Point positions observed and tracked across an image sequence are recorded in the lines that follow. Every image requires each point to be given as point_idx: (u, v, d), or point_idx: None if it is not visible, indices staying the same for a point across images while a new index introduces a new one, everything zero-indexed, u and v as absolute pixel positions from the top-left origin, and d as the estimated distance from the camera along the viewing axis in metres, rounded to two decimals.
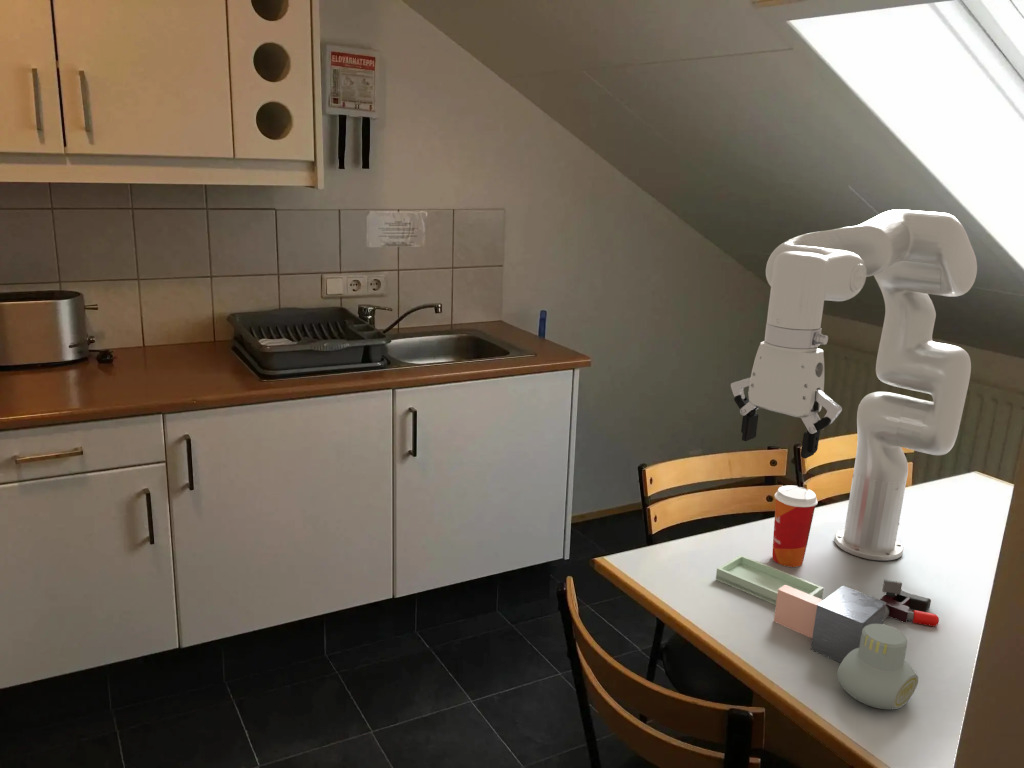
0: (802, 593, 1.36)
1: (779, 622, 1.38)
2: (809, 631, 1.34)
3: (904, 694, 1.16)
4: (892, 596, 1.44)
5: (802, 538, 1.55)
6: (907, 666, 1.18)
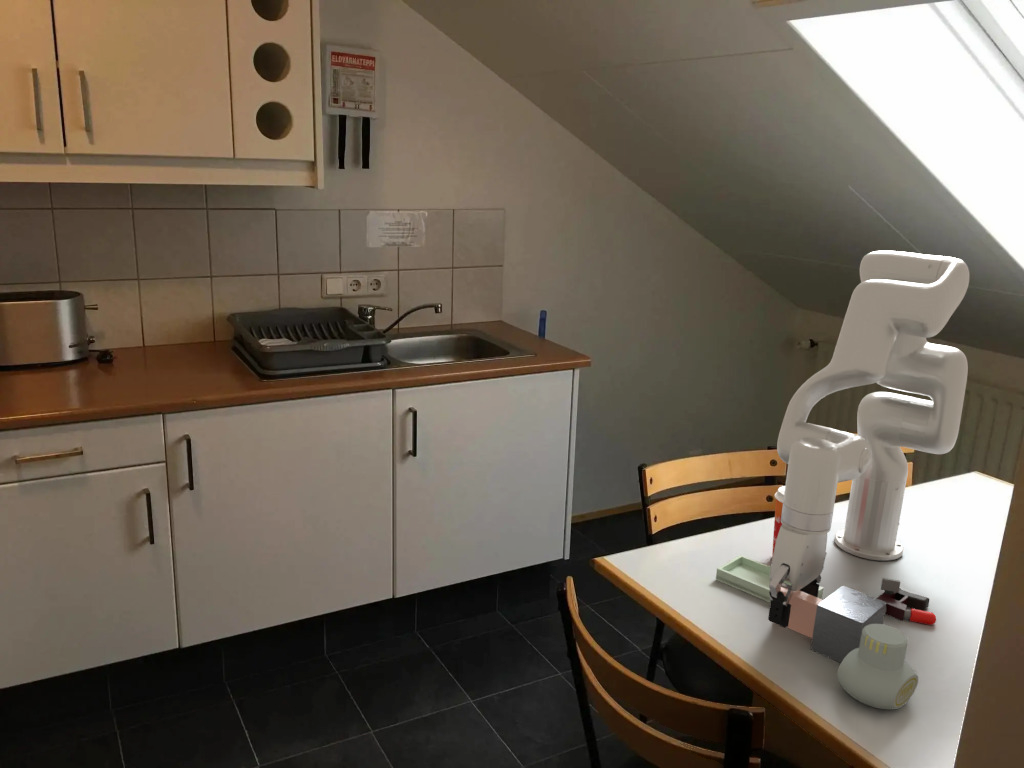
0: (802, 593, 1.36)
1: None
2: (809, 631, 1.34)
3: (904, 694, 1.16)
4: (890, 594, 1.44)
5: None
6: (907, 666, 1.18)
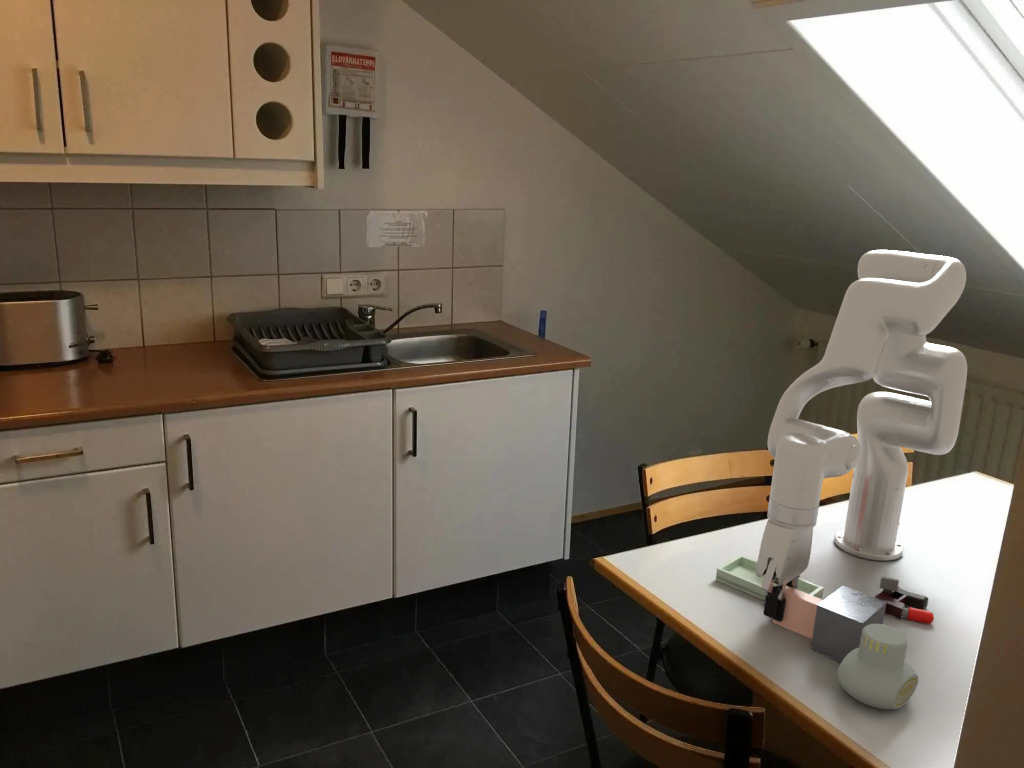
0: (802, 593, 1.36)
1: (778, 622, 1.37)
2: (809, 631, 1.34)
3: (904, 694, 1.16)
4: (889, 593, 1.45)
5: None
6: (907, 666, 1.18)
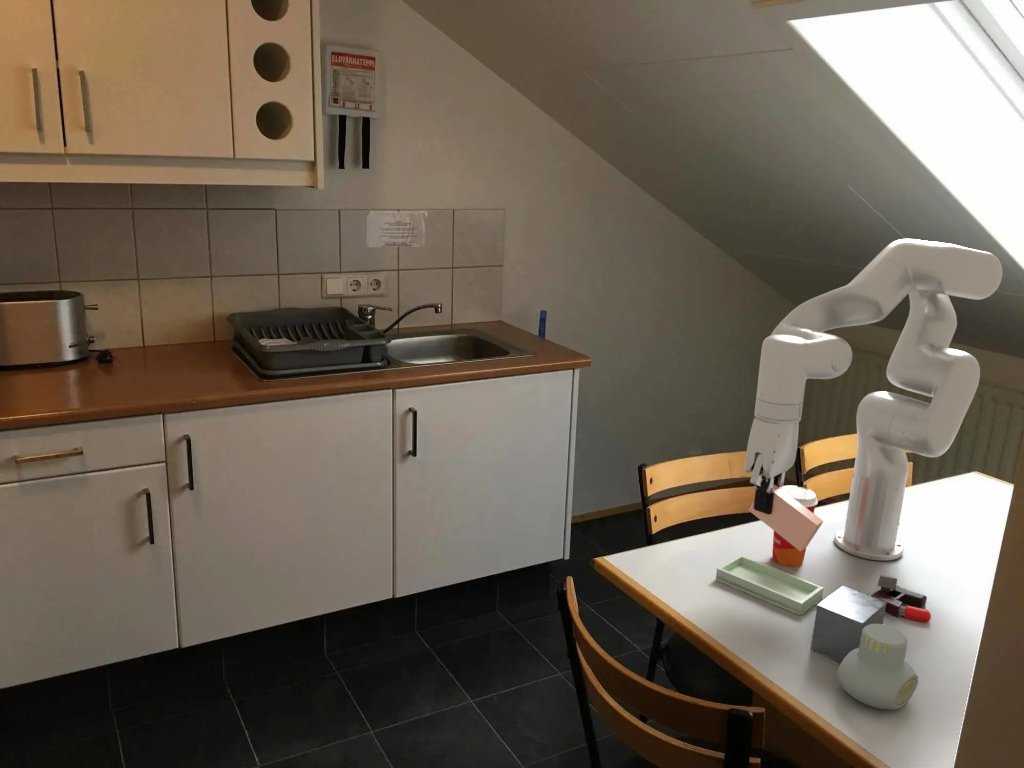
0: (784, 493, 1.44)
1: (753, 512, 1.47)
2: (779, 528, 1.44)
3: (904, 694, 1.16)
4: (887, 591, 1.45)
5: None
6: (907, 666, 1.18)
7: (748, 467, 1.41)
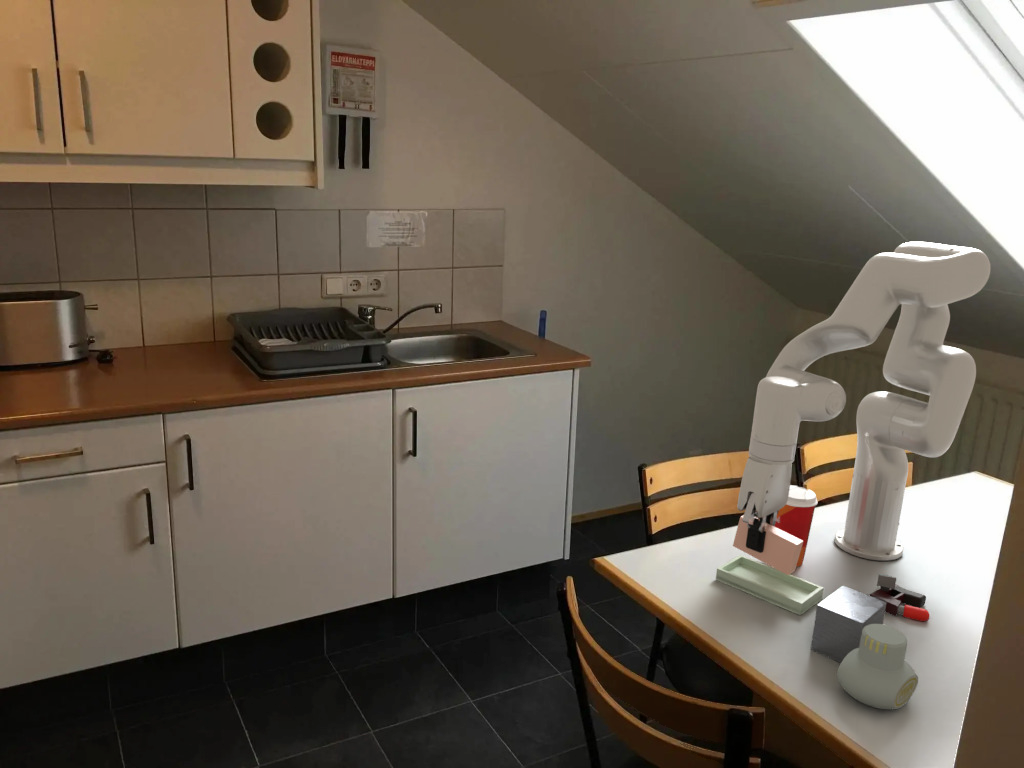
0: None
1: (738, 546, 1.50)
2: (764, 556, 1.46)
3: (904, 694, 1.16)
4: (886, 590, 1.46)
5: (802, 538, 1.55)
6: (907, 666, 1.18)
7: (741, 506, 1.44)
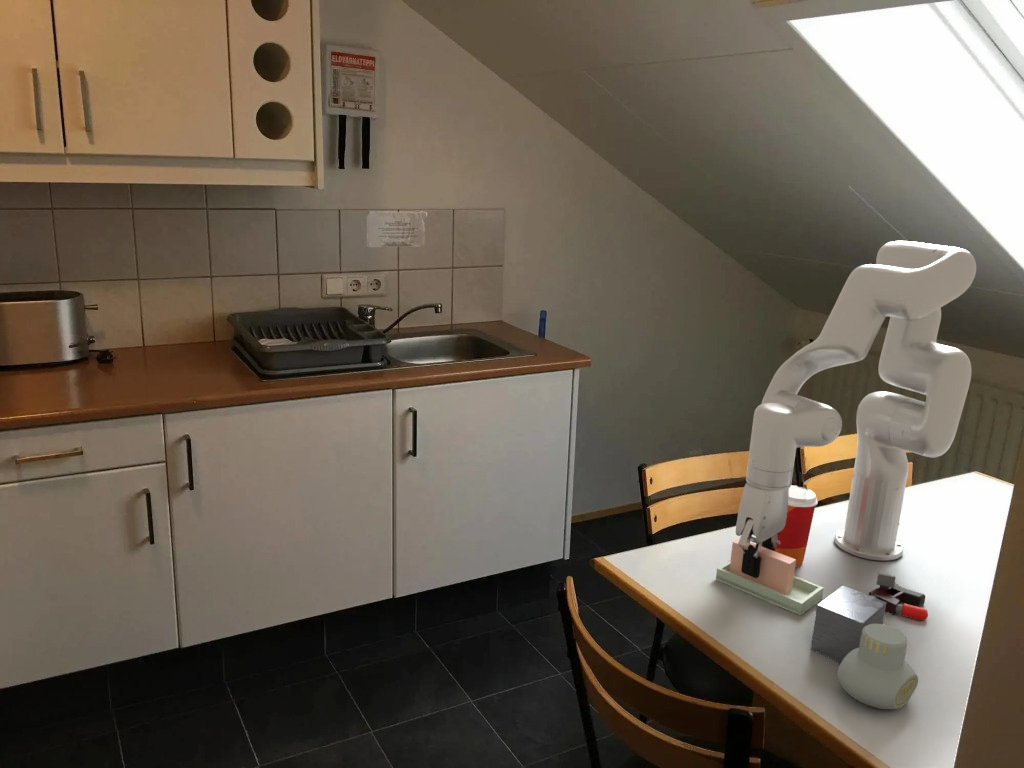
0: (754, 545, 1.50)
1: (734, 572, 1.52)
2: (760, 579, 1.48)
3: (904, 694, 1.16)
4: (885, 589, 1.46)
5: (802, 538, 1.55)
6: (907, 666, 1.18)
7: (739, 531, 1.45)
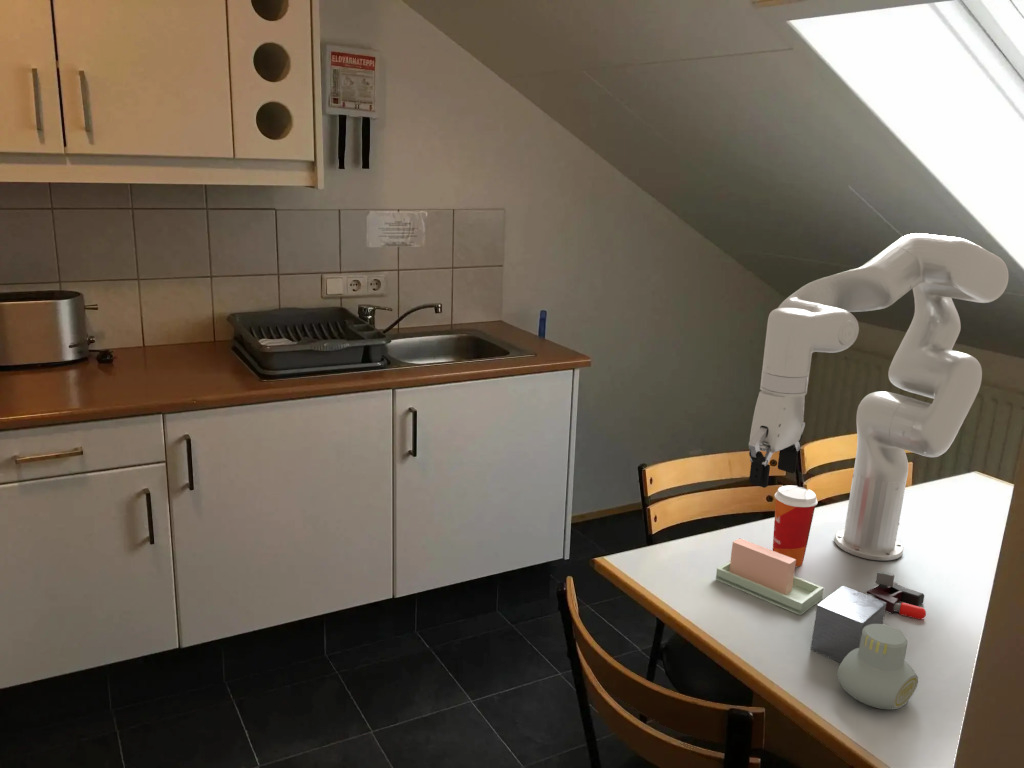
0: (754, 545, 1.50)
1: (734, 572, 1.52)
2: (760, 579, 1.48)
3: (904, 694, 1.16)
4: (884, 588, 1.46)
5: (802, 538, 1.55)
6: (907, 666, 1.18)
7: None
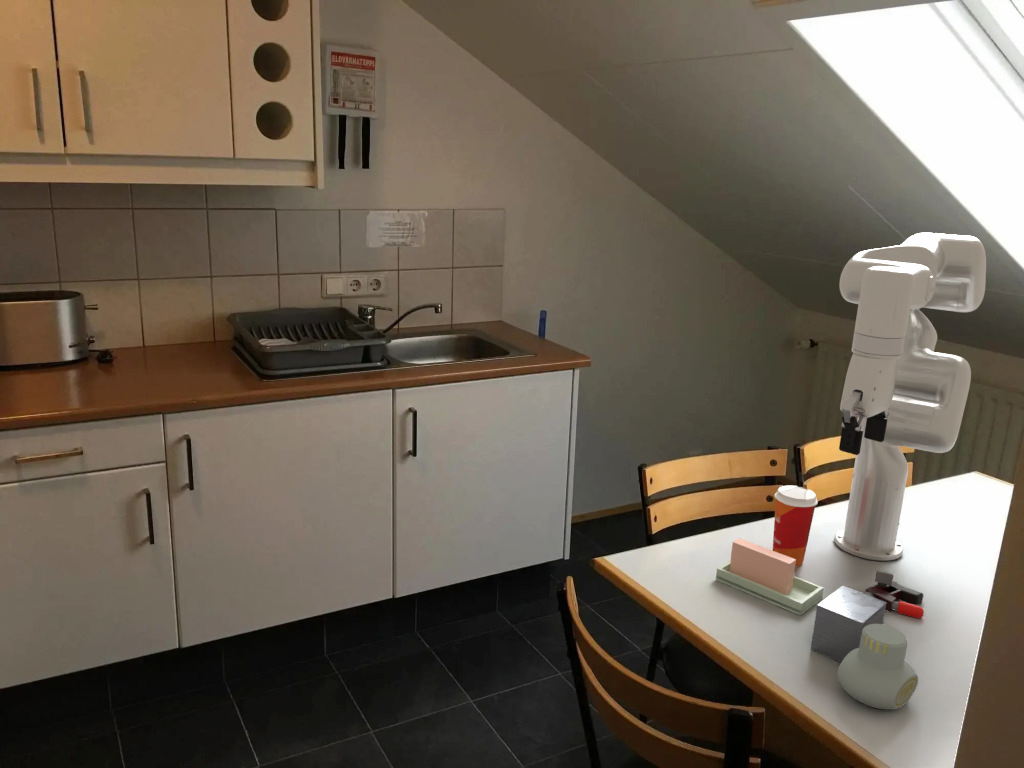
0: (754, 545, 1.50)
1: (734, 572, 1.52)
2: (760, 579, 1.48)
3: (904, 694, 1.16)
4: (883, 586, 1.47)
5: (802, 538, 1.55)
6: (907, 666, 1.18)
7: None
